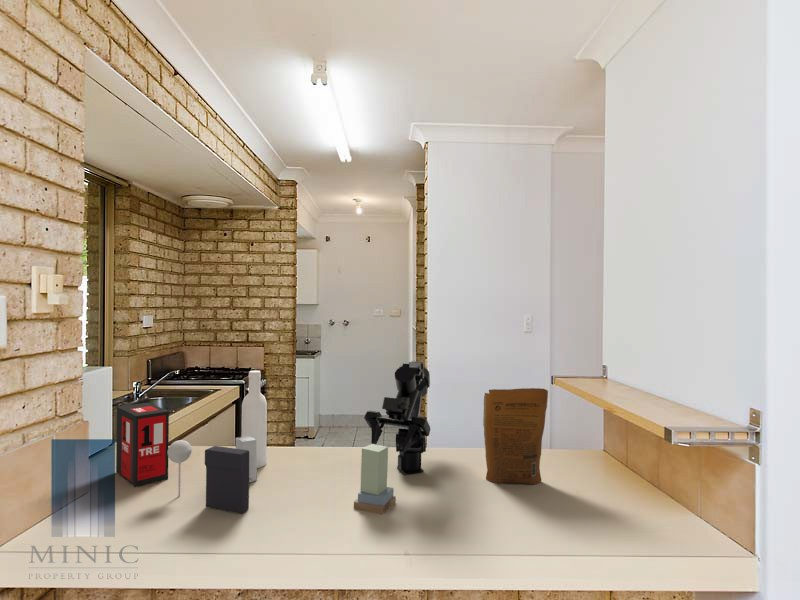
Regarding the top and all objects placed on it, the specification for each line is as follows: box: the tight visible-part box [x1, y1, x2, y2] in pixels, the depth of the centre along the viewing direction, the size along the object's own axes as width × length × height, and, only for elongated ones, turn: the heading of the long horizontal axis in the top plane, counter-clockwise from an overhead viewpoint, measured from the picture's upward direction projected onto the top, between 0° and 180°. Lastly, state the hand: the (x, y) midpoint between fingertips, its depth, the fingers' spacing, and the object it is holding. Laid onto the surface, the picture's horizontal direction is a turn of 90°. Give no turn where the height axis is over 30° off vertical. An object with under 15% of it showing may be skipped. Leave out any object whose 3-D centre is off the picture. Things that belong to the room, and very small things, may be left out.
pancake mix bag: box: [482, 387, 549, 485], centre depth 145 cm, size 7×19×28 cm, turn 87°
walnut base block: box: [353, 495, 396, 515], centre depth 128 cm, size 8×8×2 cm
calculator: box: [204, 445, 250, 515], centre depth 125 cm, size 11×4×15 cm, turn 71°
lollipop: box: [167, 439, 193, 498], centre depth 132 cm, size 6×6×15 cm
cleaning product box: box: [115, 402, 170, 488], centre depth 147 cm, size 16×9×20 cm, turn 46°
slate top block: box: [357, 486, 395, 506], centre depth 128 cm, size 7×7×2 cm
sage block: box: [359, 444, 389, 495], centre depth 128 cm, size 5×5×11 cm
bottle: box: [241, 370, 268, 469], centre depth 157 cm, size 8×8×30 cm
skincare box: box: [235, 435, 258, 483], centre depth 145 cm, size 6×4×12 cm
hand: (387, 449), depth 134 cm, fingers open, 9 cm apart
